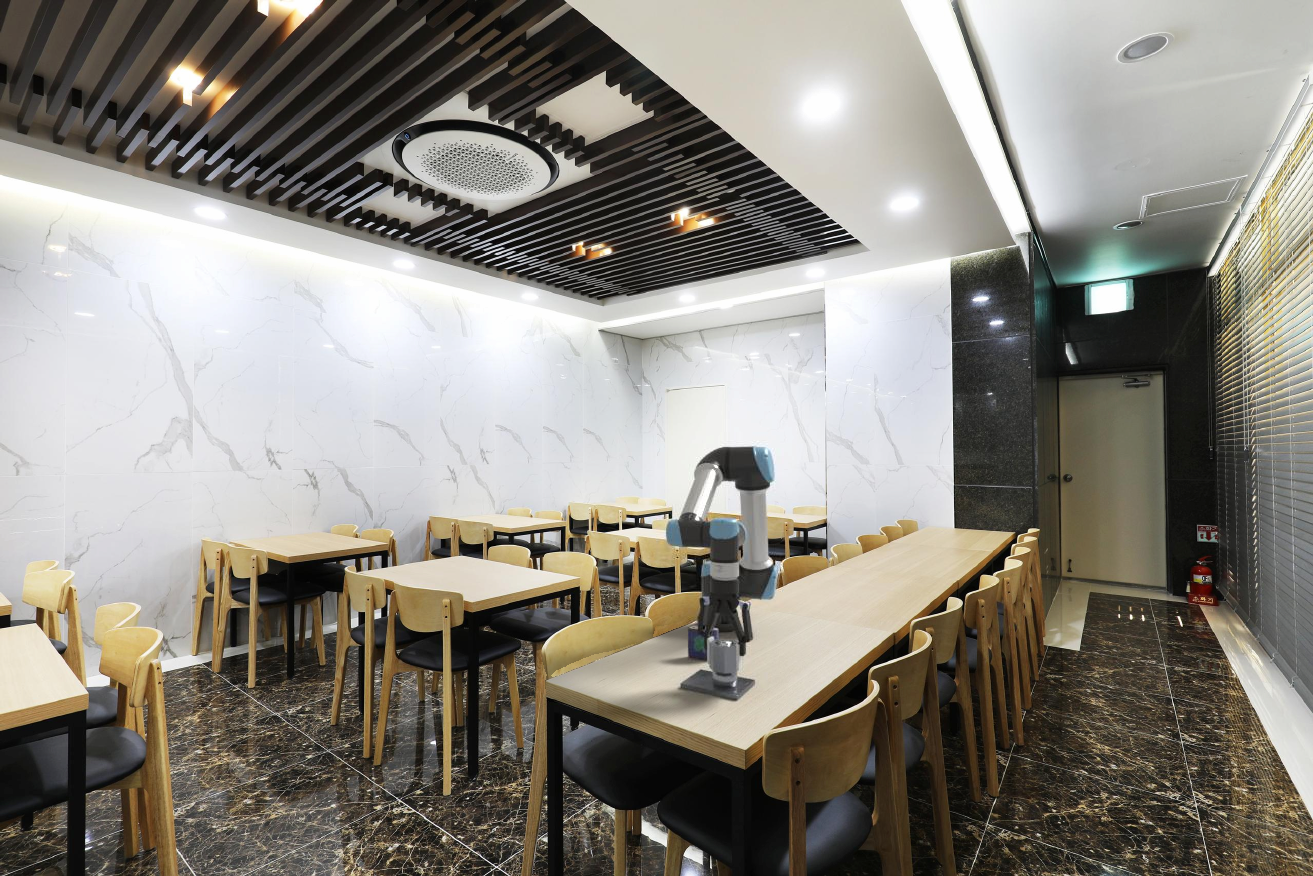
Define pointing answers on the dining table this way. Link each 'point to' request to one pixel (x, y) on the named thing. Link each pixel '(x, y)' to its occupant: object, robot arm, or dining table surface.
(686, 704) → the dining table surface
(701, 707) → the dining table surface
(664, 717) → the dining table surface
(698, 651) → the flask
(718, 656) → the tube
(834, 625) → the dining table surface
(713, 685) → the shaft fixture
